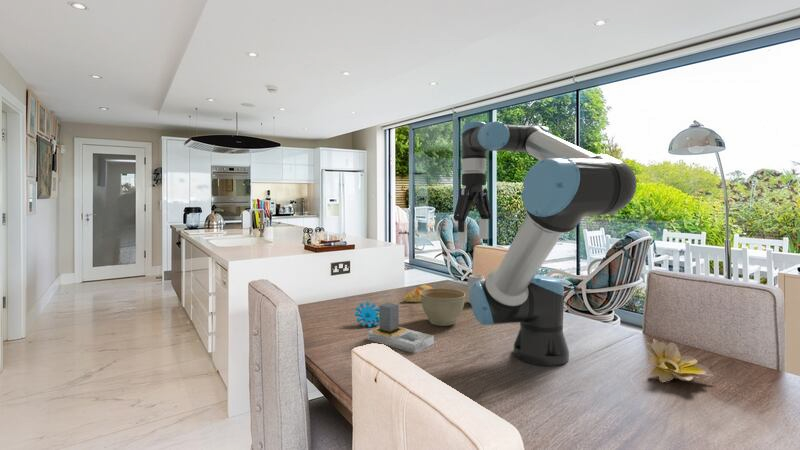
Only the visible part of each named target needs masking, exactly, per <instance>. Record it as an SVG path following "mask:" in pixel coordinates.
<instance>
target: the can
mask: <svg viewBox="0 0 800 450" xmlns="http://www.w3.org/2000/svg"><path fill="white" fill-rule="evenodd" d="M468 276H469V277H468V278H467V300H466V301H467V302H468V303H469V304H470V305H471V299H470V291H471V287H472V285H473V284H474V283H477V282H480V283H481V282H484V281H485V279H486V278H485V277H484V275H482V274H470V275H468Z"/></svg>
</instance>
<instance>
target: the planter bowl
mask: <svg viewBox="0 0 800 450" xmlns="http://www.w3.org/2000/svg"><path fill="white" fill-rule="evenodd" d="M465 299H466V293H465V292H464V291H462V290H458V289H454V288H448V287H447V288H446V287H441V288H440V287H433V289H426V290H423V291H421V301H422V302H421V305H422V309H423V311H424V313H425V315H426V317H427V318H428V321H429V323H430V324H432V325H434V326H435V325H436V326H440V327H441V326H442V327H443V326H444V327H446V326H452V325H455V324H456V322H457V321H456V320H457V319H458V318H459V317H460V316H461V313H462V312H463V309H464V307H465Z"/></svg>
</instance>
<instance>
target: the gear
mask: <svg viewBox="0 0 800 450" xmlns="http://www.w3.org/2000/svg"><path fill="white" fill-rule="evenodd" d="M370 304H371V303H370V301H366V302H365V303H364V302H360V304H359V306H356V308H355V310H356V311H355V313H354V316H355V317H357V318H356V321H357V323H360V322H361V321H362V322H361V326H362V327H365V326H366V324H367V323H368V324H367V327H368V328H370V329H371V328H372V326H373V327H377V326H378V323H379V307H377V308H375V307H376V303H374V302H373V303H372V304H371V306H370ZM364 305H365V307H364ZM360 308H361V309H360ZM372 322H373V325H372Z"/></svg>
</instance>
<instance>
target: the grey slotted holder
mask: <svg viewBox="0 0 800 450" xmlns="http://www.w3.org/2000/svg"><path fill="white" fill-rule="evenodd" d="M366 339H367V340H368V341H372V342H375V343H378V344H381V345H386V346H389V347H393V348H394V349H395V348H396V349H399V350H403V351H405V352H410V353H412V354H416V353H418V352H420V351H422V350H424V349H426V348H429V346H432V345H434V344H435V341H434V340H435V335H431V334H429V333H424V332H421V331H416V330H412V329H408V328H405V327H400V326H399V331H396V332H394V333H391V334H388V333H385V332H381V331H379V326H378V327H375V328H372V329H370V330H369V331H366Z"/></svg>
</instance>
